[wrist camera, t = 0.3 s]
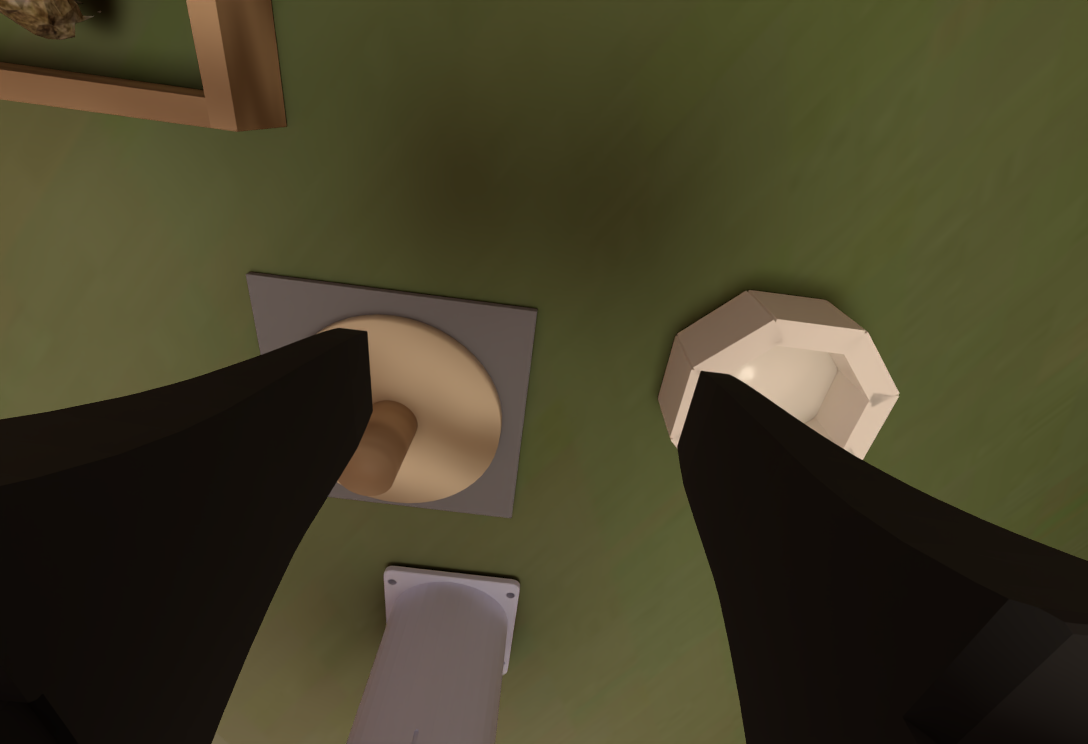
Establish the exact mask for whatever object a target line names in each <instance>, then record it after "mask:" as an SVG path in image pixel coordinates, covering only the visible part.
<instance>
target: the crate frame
mask: <svg viewBox="0 0 1088 744" xmlns="http://www.w3.org/2000/svg"><path fill="white" fill-rule="evenodd" d="M186 2H187V7H188V12H189V17H190V22H191V28H192V33H193V38H194V43H195V48H196V53H197V59H198V64H199V69H200V74H201V79H202V84H203V90H199V89H192V88H185V87H178V86H171V85H163V84H156V83H149V82H142V81H135V80H127V79H120V78H113V77H106V76H98V75H91V74H84V73H77V72H70V71H62V70H55V69H48V68H41V67H34V66H26V65H19V64H12V63H5V62H0V99H3V100H10V101H18V102H25V103H32V104H40V105H47V106H54V107H62V108H69V109H76V110H84V111H91V112H98V113H106V114H113V115H120V116H127V117H135V118H142V119H149V120H157V121H164V122H171V123H179V124H186V125H193V126H201V127H208V128H215V129H223V130H230V131H237V132H238V131H248V130H258V129H268V128H278V127H287V124H286V116H285V108H284V100H283V92H282V84H281V76H280V68H279V60H278V52H277V44H276V36H275V28H274V20H273V12H272V4H271V0H186Z"/></svg>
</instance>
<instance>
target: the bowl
mask: <svg viewBox="0 0 1088 744" xmlns="http://www.w3.org/2000/svg"><path fill="white" fill-rule="evenodd" d="M677 335H678V336H675V339H674V343H673V346H672V350H671V353H670V357H669V360H668V364H667V367H666V371H665V375H664V378H663V382H662V385H661V389H660V392H659V396H658V401H659V404H660V407H661V411H662V414H663V417H664V420H665V424H666V427H667V430H668V433H669V437H670V440H671V441H672V442H673V444H674V445H675V446H676V447H677V445H678V442H679V439H680V436H681V432H682V429H683V426H684V423H685V420H686V416H687V413H688V410H689V407H690V403H691V400H692V397H693V394H694V391H695V387H696V384H697V381H698V378H699V375H700V371H707V372H716V373H724V374H730V375H732V376H734V377H736V378H737V379H739V380H741V381H742V382H744V383H746V384H747V385H749V386H750V387H752V388H753V389H755V390H756V391H758V392H759V393H761V394H762V395H763V396H765V397H766V398H768V399H769V400H771V401H772V402H774V403H775V404H776V405H778V406H779V407H781V408H782V409H784V410H785V411H786V412H788V413H789V414H791V415H792V416H794V417H795V418H797V419H798V420H800V421H801V422H803V423H804V424H806V425H807V426H809V427H810V428H812V429H813V430H815V431H816V432H818V433H819V434H821V435H822V436H824V437H825V438H827V439H829V440H830V441H832V442H833V443H835V444H837V445H838V446H840V447H842V448H843V449H845V450H846V451H848V452H850V453H851V454H853V455H855V456H856V457H858V458H860V459H861V460H863V458H864V456H865V455H866V453H867V451H868V450H869V448H870V446H871V444H872V443H873V441H874V439H875V437H876V436H877V434H878V432H879V430H880V429H881V427H882V425H883V423H884V422H885V420H886V418H887V416H888V415H889V413H890V411H891V409H892V408H893V406H894V404H895V402H896V401H897V399H898V397H899V395H898V394H899V392H898V390H897V388H896V386H895V384H894V382H893V380H892V378H891V376H890V374H889V372H888V370H887V368H886V366H885V364H884V362H883V361H882V359H881V357H880V355H879V353H878V351H877V349H876V347H875V345H874V343H873V341H872V339H871V337H870V335H869V333H868V332H867V331H866V330H865V329H863V328H862V327H861V326H860V325H858V324H857V323H856V322H854V321H853V320H852V319H850V318H849V317H848V316H847V315H845V314H844V313H843V312H841V311H840V310H839V309H837V308H836V307H835V306H834V305H832V304H831V303H830V302H828V301H827V300H823V299H815V298H807V297H800V296H792V295H785V294H777V293H769V292H762V291H754V290H749V291H748V292H747V291H745V292H743V293H741V294H740V295H738V296H737V297H735V298H733V299H732V300H730V301H729V302H727V303H725V304H724V305H722V306H721V307H719V308H717V309H716V310H714V311H712V312H711V313H709V314H708V315H706V316H704V317H703V318H701V319H700V320H698V321H696V322H695V323H693V324H692V325H690V326H688V327H687V328H685V329H684V330H682V331H680V332H679V333H677Z"/></svg>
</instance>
